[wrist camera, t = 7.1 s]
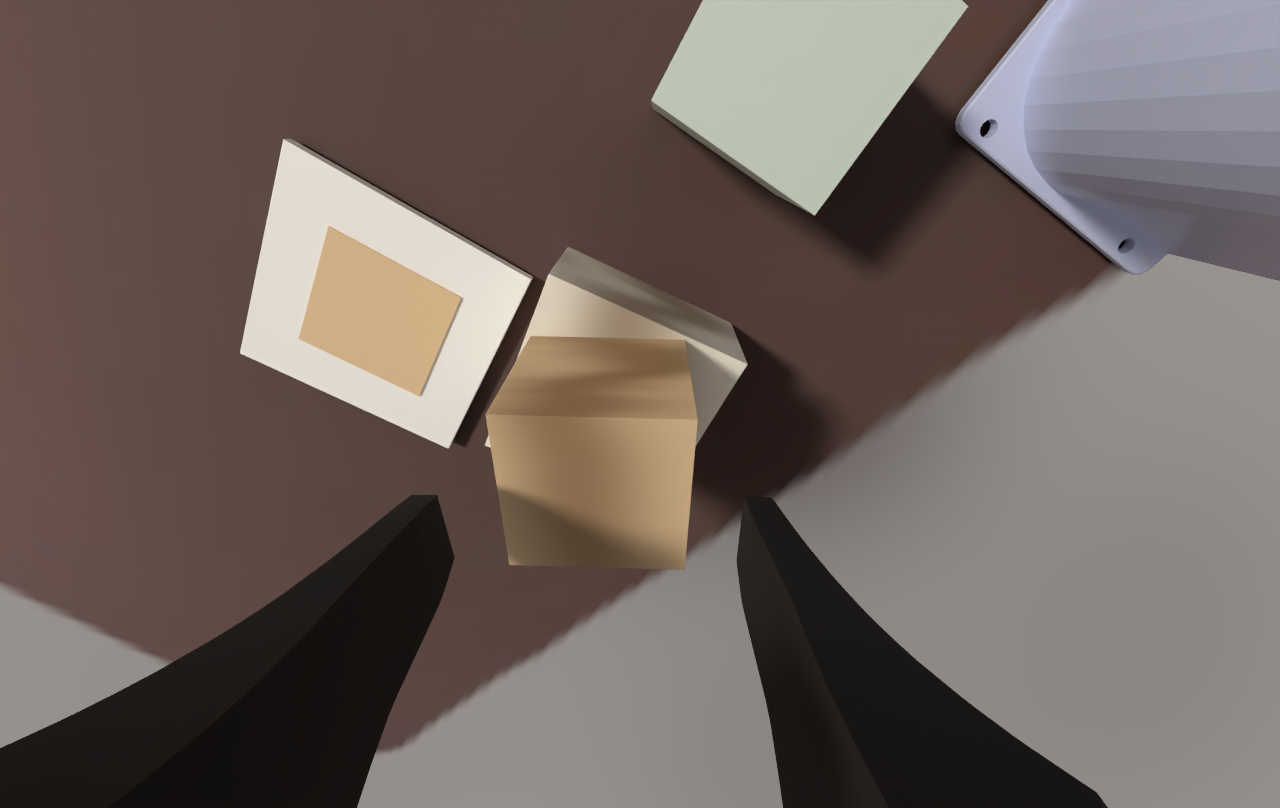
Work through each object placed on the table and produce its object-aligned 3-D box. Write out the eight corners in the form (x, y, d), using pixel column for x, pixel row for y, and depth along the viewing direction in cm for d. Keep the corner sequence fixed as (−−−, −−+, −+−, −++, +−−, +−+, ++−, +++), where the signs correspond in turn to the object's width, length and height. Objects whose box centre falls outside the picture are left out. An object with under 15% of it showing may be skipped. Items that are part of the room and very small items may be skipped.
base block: (730, 322, 20) (747, 364, 16) (654, 451, 23) (655, 509, 19) (568, 246, 18) (548, 273, 15) (511, 394, 22) (484, 445, 18)
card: (533, 276, 19) (530, 280, 18) (451, 443, 23) (447, 449, 22) (291, 138, 17) (281, 139, 16) (246, 349, 20) (238, 354, 20)
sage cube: (876, 41, 15) (967, 6, 11) (774, 193, 17) (814, 215, 13) (744, -70, 14) (786, -162, 9) (651, 108, 16) (650, 100, 12)
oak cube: (684, 339, 16) (697, 419, 12) (676, 464, 18) (684, 569, 14) (530, 335, 16) (485, 414, 12) (543, 461, 18) (509, 564, 14)
